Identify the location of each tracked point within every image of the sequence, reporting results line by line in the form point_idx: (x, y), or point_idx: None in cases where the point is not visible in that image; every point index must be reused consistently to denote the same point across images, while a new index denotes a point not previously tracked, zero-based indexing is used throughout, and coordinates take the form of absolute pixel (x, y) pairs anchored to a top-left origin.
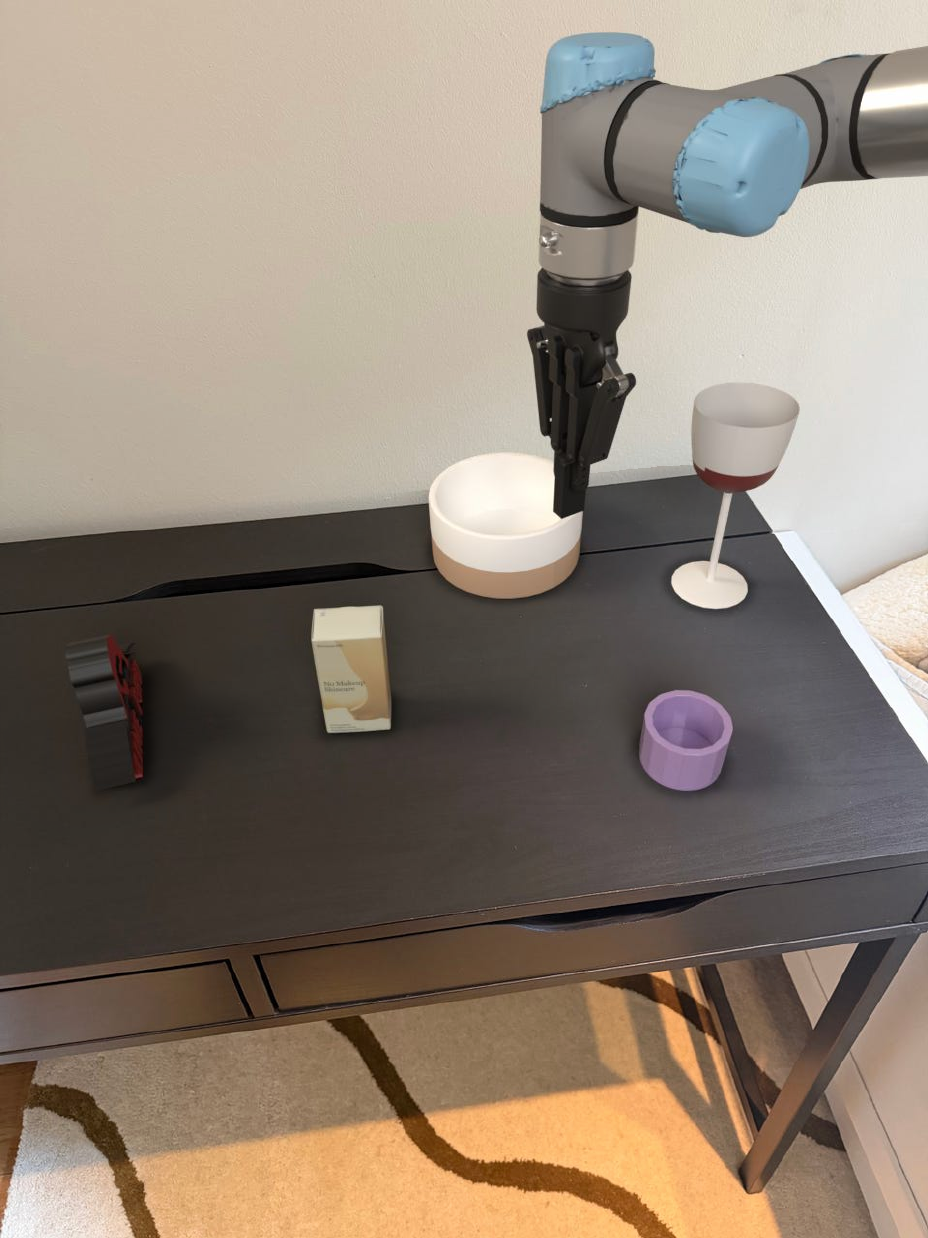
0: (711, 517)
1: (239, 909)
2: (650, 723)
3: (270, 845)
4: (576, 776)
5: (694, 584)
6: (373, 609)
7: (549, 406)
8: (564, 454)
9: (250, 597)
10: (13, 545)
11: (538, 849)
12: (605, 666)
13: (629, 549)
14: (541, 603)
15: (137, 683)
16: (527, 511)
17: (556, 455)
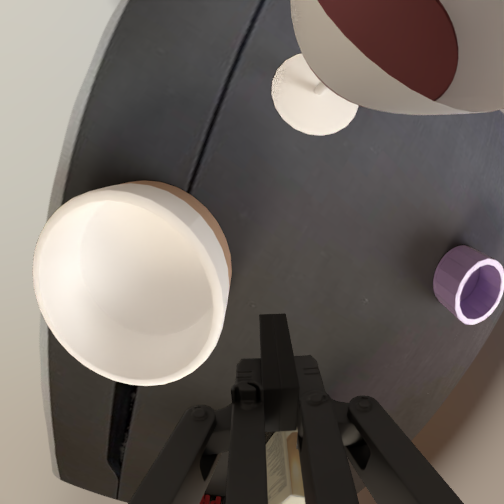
0: (210, 14)
1: (359, 482)
2: (465, 319)
3: None
4: (422, 347)
5: (314, 110)
6: (292, 499)
7: (200, 489)
8: (273, 422)
9: (135, 443)
10: (63, 480)
11: (437, 383)
12: (359, 271)
13: (210, 131)
14: (245, 277)
15: (203, 501)
16: (96, 211)
17: (266, 431)
